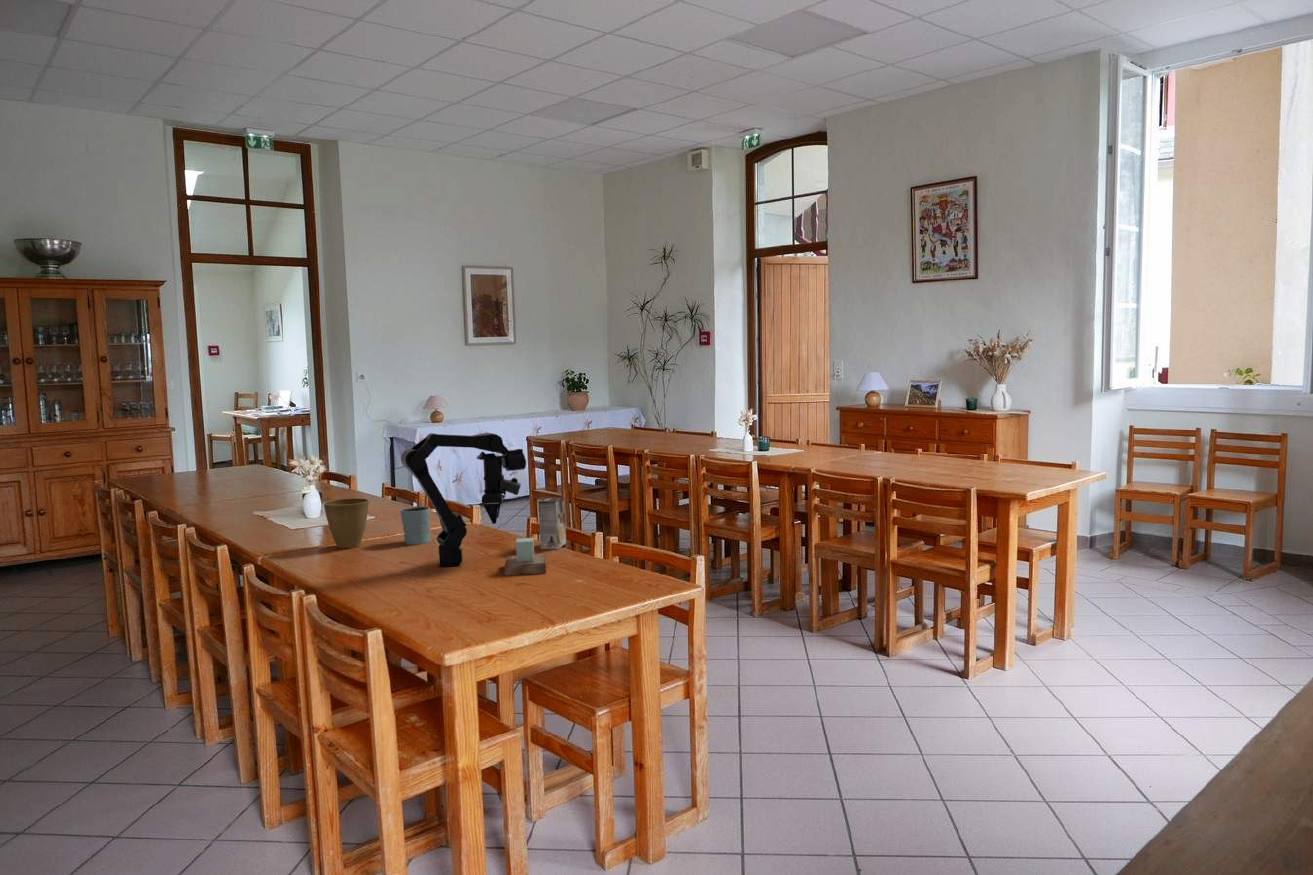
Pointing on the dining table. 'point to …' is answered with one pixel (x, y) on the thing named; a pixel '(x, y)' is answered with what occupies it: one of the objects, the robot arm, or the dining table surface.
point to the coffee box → (552, 522)
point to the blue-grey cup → (416, 525)
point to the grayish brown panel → (525, 565)
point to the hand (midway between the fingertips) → (495, 520)
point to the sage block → (525, 549)
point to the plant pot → (347, 520)
